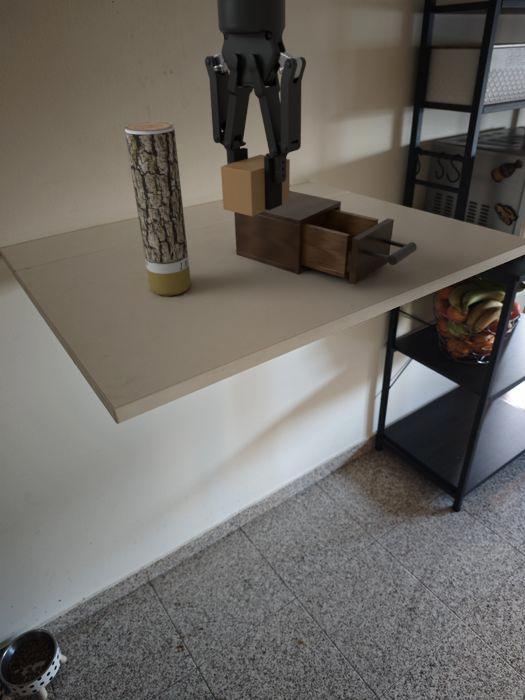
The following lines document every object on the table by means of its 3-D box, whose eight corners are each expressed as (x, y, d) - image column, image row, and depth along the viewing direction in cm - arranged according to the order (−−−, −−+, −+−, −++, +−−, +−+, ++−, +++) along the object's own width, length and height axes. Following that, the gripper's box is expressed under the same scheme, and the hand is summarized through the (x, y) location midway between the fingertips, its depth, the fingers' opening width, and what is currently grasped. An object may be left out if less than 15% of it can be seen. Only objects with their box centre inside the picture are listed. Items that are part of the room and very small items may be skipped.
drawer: (418, 270, 85) (425, 226, 80) (386, 295, 78) (392, 247, 73) (324, 245, 95) (326, 204, 91) (288, 264, 88) (288, 221, 84)
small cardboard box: (261, 194, 71) (260, 154, 68) (289, 200, 68) (289, 159, 65) (223, 209, 66) (220, 166, 63) (252, 216, 63) (250, 171, 60)
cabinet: (337, 251, 95) (341, 201, 89) (298, 274, 87) (299, 220, 81) (277, 235, 102) (277, 187, 97) (236, 254, 94) (233, 204, 89)
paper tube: (152, 300, 79) (125, 131, 66) (148, 282, 85) (123, 123, 71) (194, 294, 81) (176, 128, 67) (188, 277, 86) (171, 120, 73)
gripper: (340, -14, 52) (328, 208, 65) (214, -5, 61) (226, 186, 74) (298, -16, 47) (294, 224, 60) (169, -7, 57) (190, 198, 69)
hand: (256, 202), depth 67 cm, fingers closed on small cardboard box, 5 cm apart
